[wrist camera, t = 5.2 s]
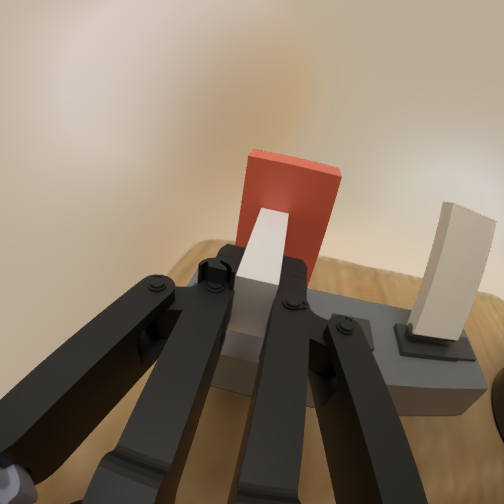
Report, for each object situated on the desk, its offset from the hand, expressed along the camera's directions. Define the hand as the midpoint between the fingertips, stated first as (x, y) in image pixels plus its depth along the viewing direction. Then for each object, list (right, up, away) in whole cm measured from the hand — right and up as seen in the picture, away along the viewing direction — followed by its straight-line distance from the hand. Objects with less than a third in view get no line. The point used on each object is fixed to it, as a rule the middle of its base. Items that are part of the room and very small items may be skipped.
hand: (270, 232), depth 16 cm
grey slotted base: (+6, -11, +6) cm, 14 cm away
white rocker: (+13, -8, +3) cm, 16 cm away
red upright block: (0, -5, +4) cm, 7 cm away
